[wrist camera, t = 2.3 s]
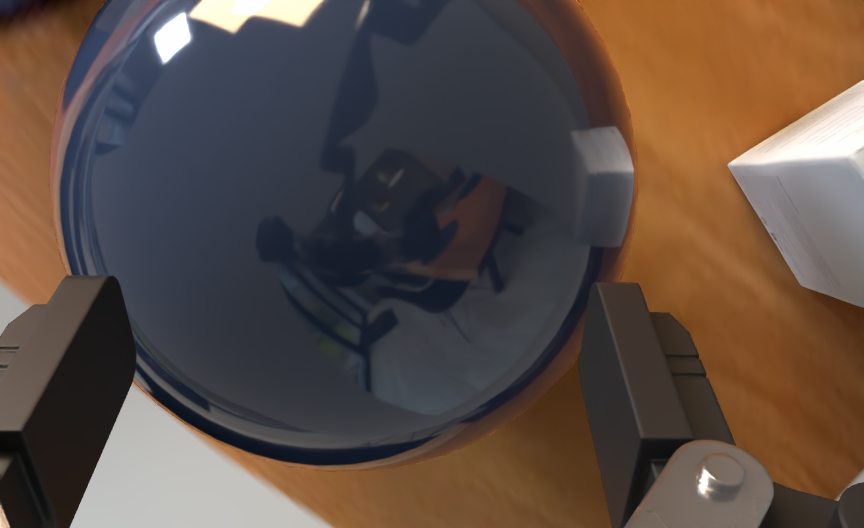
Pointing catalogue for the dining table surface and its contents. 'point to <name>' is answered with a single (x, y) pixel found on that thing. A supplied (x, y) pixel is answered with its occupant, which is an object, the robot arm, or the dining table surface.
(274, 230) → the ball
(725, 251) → the dining table surface
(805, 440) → the dining table surface
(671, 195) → the dining table surface
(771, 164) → the small box
